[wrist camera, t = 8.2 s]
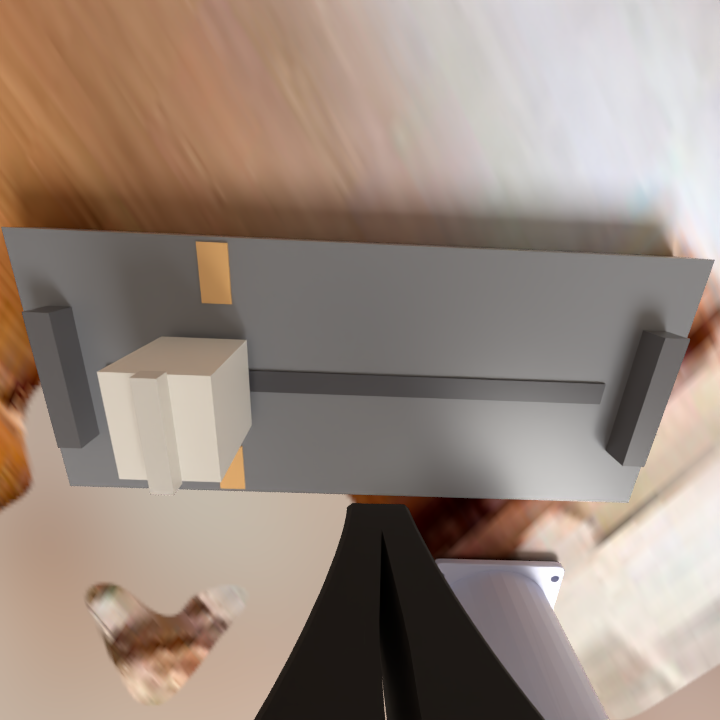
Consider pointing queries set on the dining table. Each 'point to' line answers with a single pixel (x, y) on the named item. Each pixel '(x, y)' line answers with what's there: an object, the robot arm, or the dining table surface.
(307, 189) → the dining table surface
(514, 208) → the dining table surface
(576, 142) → the dining table surface
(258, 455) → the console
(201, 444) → the fader knob
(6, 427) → the dining table surface
